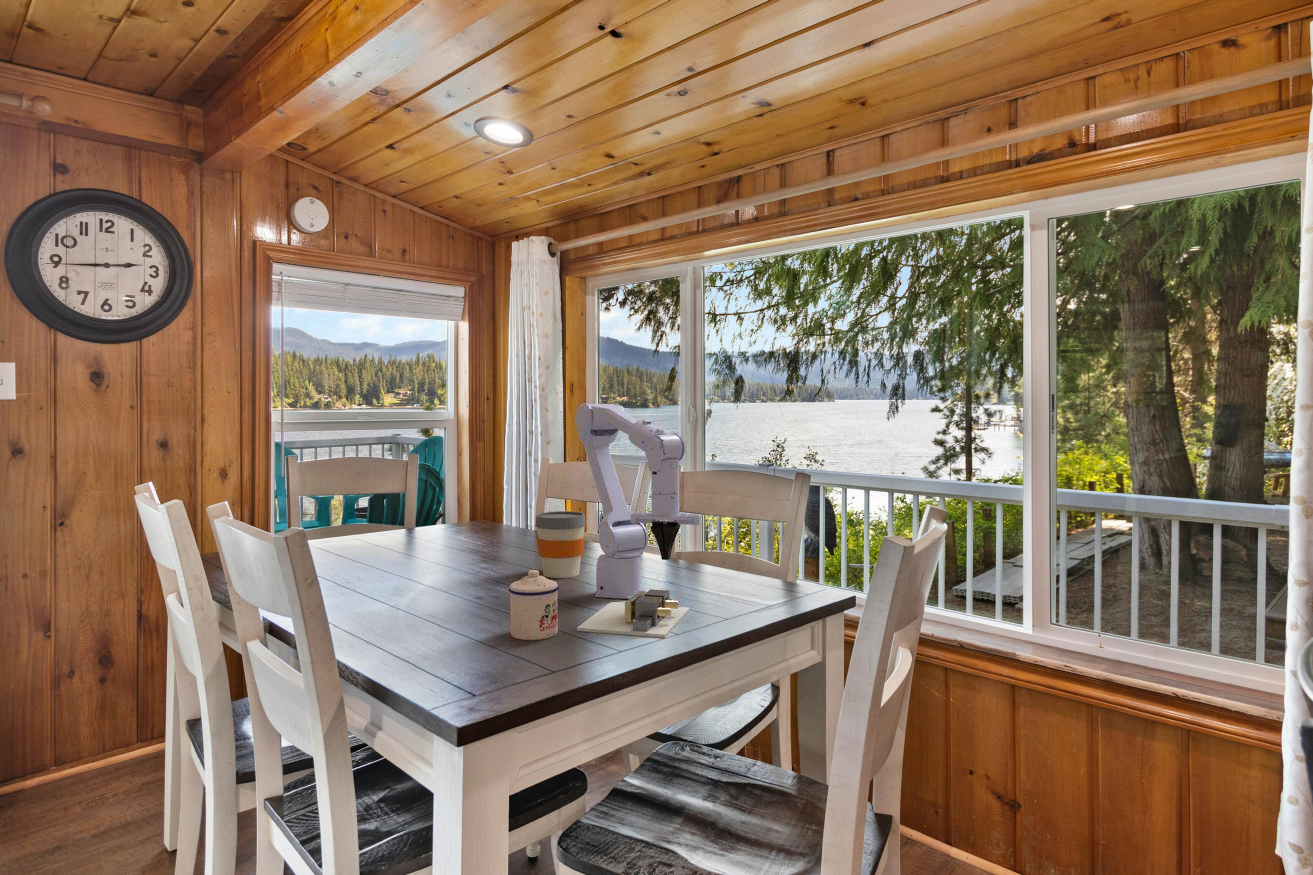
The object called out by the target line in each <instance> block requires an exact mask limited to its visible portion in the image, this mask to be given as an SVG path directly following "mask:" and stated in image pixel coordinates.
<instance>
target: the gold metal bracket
mask: <svg viewBox="0 0 1313 875" xmlns="http://www.w3.org/2000/svg"><path fill="white" fill-rule="evenodd" d="M646 592H647V590H646V591H639V592H637V593H636V594H635V595H634V596H632V597H631V598H630V599H626V601H625V602H624V603H625V622H632V621H633V620H634V619H635V602H636V601H637V600H638V599H639V598H640V597H642V596H644V594H645V593H646ZM679 604H680V602H679V601H678V600H671V601H670V600H665V608H657V616H669V617H670V616H671V608H672V609H678V607H680V605H679Z"/></svg>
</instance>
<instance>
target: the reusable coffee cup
mask: <svg viewBox="0 0 1313 875" xmlns="http://www.w3.org/2000/svg"><path fill="white" fill-rule="evenodd" d="M586 526H587V522H586V514H585V513H584V512H581V511H569V510H567V511H565V510H564V511H563V510H561V511H559V510H558V511H546V512H541V513H537V514H536V516H535V525H534V527H535V528H536V533H537V537H536V544H537V550H538V551H537V553H538V556H539V557H540V561H541V567H542V576H543V577H545V576H546V577H545V578H549V577H550V579H566V578H573V577H577V576H579V575H580V572H581V571H580V570H581V569H580V568H581V560H582V555H584V549H585V540H586V536H585V535H584V534H585V527H586Z"/></svg>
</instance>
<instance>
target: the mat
mask: <svg viewBox="0 0 1313 875" xmlns="http://www.w3.org/2000/svg"><path fill="white" fill-rule="evenodd" d="M689 612H690V607H685V606H679V607H678V609H672V608H671V616H670V617H669V616H666V617H665V618H662V621H661V622H660V623H659V624H658V625H657V626H652V627H651V628H650V629H649V630H648V631H647V632H645V631H633V621H632V622H625V602H613V601H612V602H611V601H610V602H609V603H608V604H607V605H605V606H604V607H602V608H601V609H600V610H599V611H597V612H596V613H594V614H593V615H592V616H590V617H589V618H588V619H587V620H585V621H584V622H583V623H581V624H580V625H579V626H577V627H576V632H587V633H588V632H589V633H599V634H600V633H601V634H612V635H623V636H625V635H626V636H637V637H649V638H659V639H660V638H661V639H663V638H664V639H666V638H667V636H668V635H669V634H670V633H671V632H672V631H673V630H674V629H675V627H676V626H677V625H678V624H679V623H680V622H681V621H682V620H683V618H685V616H686V615H687V614H688V613H689Z"/></svg>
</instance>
